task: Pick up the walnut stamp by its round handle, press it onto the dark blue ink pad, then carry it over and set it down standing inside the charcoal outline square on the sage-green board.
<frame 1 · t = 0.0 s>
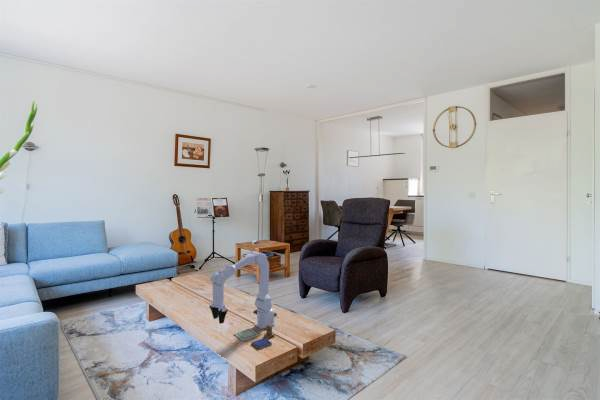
hand: (218, 320, 172), 10 cm above the table, tool pointing down, fingers open, 7 cm apart
ink pad: (261, 344, 167), on the table
stamp: (269, 336, 176), on the table
phone: (265, 314, 207), on the table
target board: (246, 335, 178), on the table
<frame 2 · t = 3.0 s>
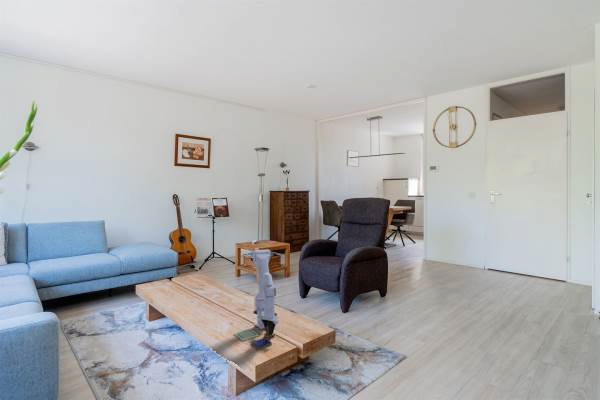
hand: (269, 332, 176), 2 cm above the table, tool pointing down, fingers closed on stamp, 3 cm apart
stamp: (269, 336, 176), on the table, touching gripper
everything else where it was.
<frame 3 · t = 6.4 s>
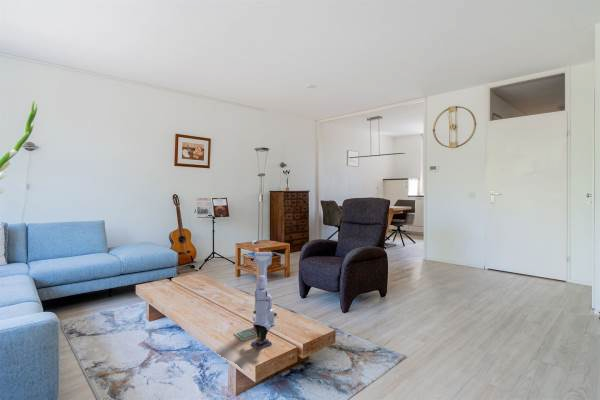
hand: (261, 338, 167), 3 cm above the table, tool pointing down, fingers closed on stamp, 3 cm apart
stamp: (261, 342, 167), point 1 cm above the table, touching gripper, ink pad
everything else where it was.
when the fingers open (3 cm above the table, at t = 10.1 s): stamp stays where it is, resting on target board.
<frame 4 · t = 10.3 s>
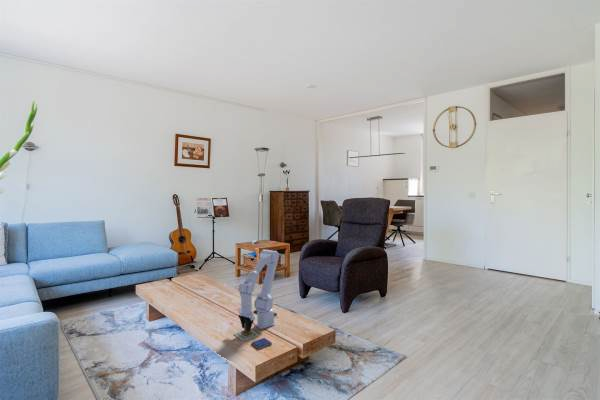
hand: (246, 329, 177), 3 cm above the table, tool pointing down, fingers open, 4 cm apart
stamp: (246, 334, 178), point 1 cm above the table, touching target board
everything else where it was.
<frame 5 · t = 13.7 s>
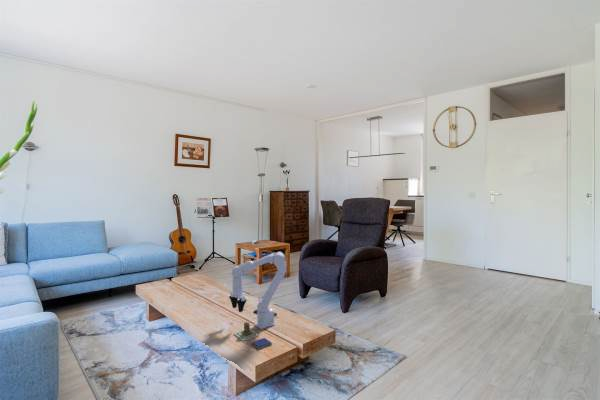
hand: (237, 309, 189), 9 cm above the table, tool pointing down, fingers open, 7 cm apart
nothing on the table moved.
at the end: stamp 0.2 cm off-centre on the target board, point 0.6 cm above the target board's base; stamp tilted 0°; the gripper is holding nothing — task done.
